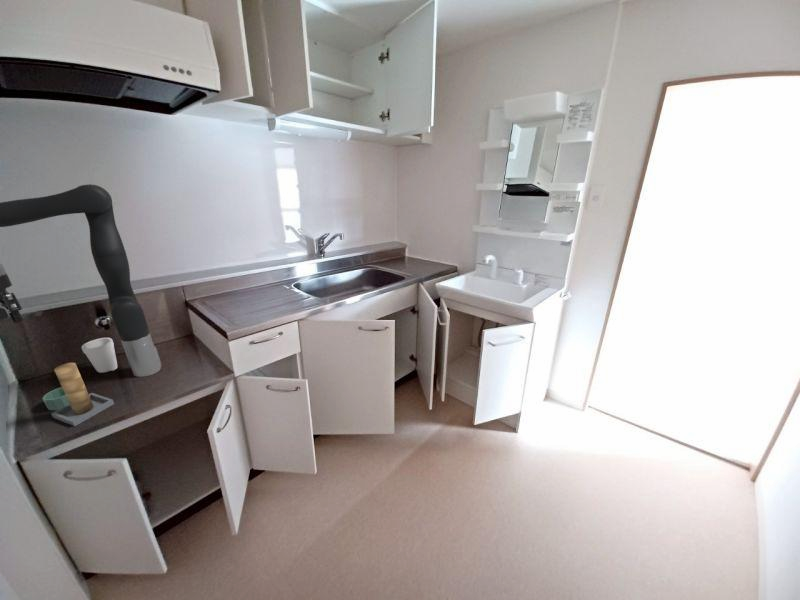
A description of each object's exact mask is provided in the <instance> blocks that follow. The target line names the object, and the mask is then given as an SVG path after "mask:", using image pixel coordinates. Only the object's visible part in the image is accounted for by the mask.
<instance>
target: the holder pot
mask: <svg viewBox="0 0 800 600" xmlns="http://www.w3.org/2000/svg"><path fill="white" fill-rule="evenodd" d="M41 400H43V403H44V404H45V406H46V408H47V409H48V410H49V411H57V410H59V409H61V408H63V407H65V406H67V405H69V404H70V403H69V401H68V399H67V397H66V395H65V392H64V390H63V388H62V386H61V387H58V388H55V389H53V390H50V391H49V392H47V393H46V394H44V395H43V397H42V399H41Z"/></svg>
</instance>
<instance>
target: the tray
mask: <svg viewBox="0 0 800 600" xmlns="http://www.w3.org/2000/svg"><path fill="white" fill-rule="evenodd" d="M88 394H89V396H90V399H91V401H92V403H93V406H94V408H93V409H92V410H91V411H89V412H87V413H84V414H81V415H75V414H74V412H73V410H72V408H71V405H70V404H69V405H67V406H65V407H63V408H61V409H59V410H54V412H53V411H52V413H50V414H51V417H52V418H53V419H55V420H58V421H60V422H63V423H66V424H68V425H71V426H74V427H76V426H78V425H79V424H82V423H83V422H85V421H86V420H88V419H90V418H92V417H93V416H95V415H97V414H99V413H101V412H103V411H104V410H106V409H108V408H110V407H111V406H113V405H114V404H115V402H114V399H112V398H109V397H106V396H103V395H99V394H97V393H94V392H90V393H88Z"/></svg>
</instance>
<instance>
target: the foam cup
mask: <svg viewBox="0 0 800 600" xmlns="http://www.w3.org/2000/svg"><path fill="white" fill-rule="evenodd" d="M81 350H82V352H83V354H85V356H86V357H87V359H88V360H89V361H90V363H91V364H92V366H93V368H94V369H95V371H96V372H98V373H100V374H102V373H108V372H110V371H112V372H113V371H115V370H116V369H118V361H117V356H116V351H115V343H114V340H113V339H112V338H111V337H101V338H96V339H92V340H90V341H88V342H85V343H83V344H82V345H81Z"/></svg>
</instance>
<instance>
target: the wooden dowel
mask: <svg viewBox="0 0 800 600" xmlns="http://www.w3.org/2000/svg"><path fill="white" fill-rule="evenodd" d="M53 371H54V373H55V374H56V377H57V379H58V382H59V384H60V386H61V387H62V388H63V390H64V392H65V395H66V397H67V399H68V401H69V403H70V405H71V408H72V410H73V412H74V414H75V415H81V414H84V413H87V412H89V411H91V410H92V409H93V408H94V406H93V403H92V401H91V399H90V396H89V394H90V393H89V392H88V390H87V386H86V385H85V382H84V380H83V378H82V375H81V373H80V371H79V369H78V366H77V363H76V362H67V363H64V364H60V365H58V366H56V367H55V368H54V369H53Z"/></svg>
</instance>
